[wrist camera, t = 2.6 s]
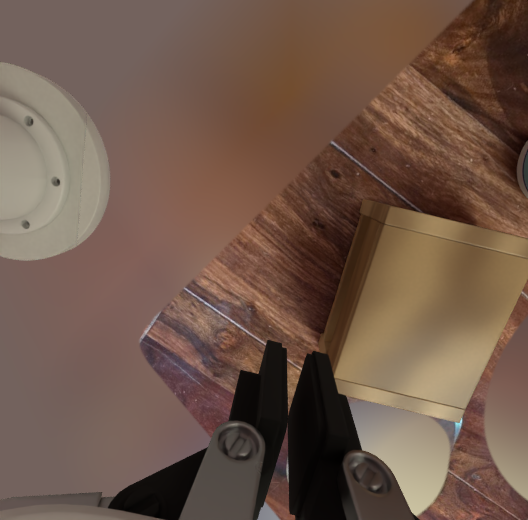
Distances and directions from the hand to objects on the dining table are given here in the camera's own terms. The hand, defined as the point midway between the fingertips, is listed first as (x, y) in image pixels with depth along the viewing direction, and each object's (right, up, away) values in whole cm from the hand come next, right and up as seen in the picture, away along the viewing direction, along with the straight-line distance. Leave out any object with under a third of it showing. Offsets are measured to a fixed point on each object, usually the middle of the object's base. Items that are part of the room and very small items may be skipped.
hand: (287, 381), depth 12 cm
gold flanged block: (+11, +2, +17) cm, 20 cm away
